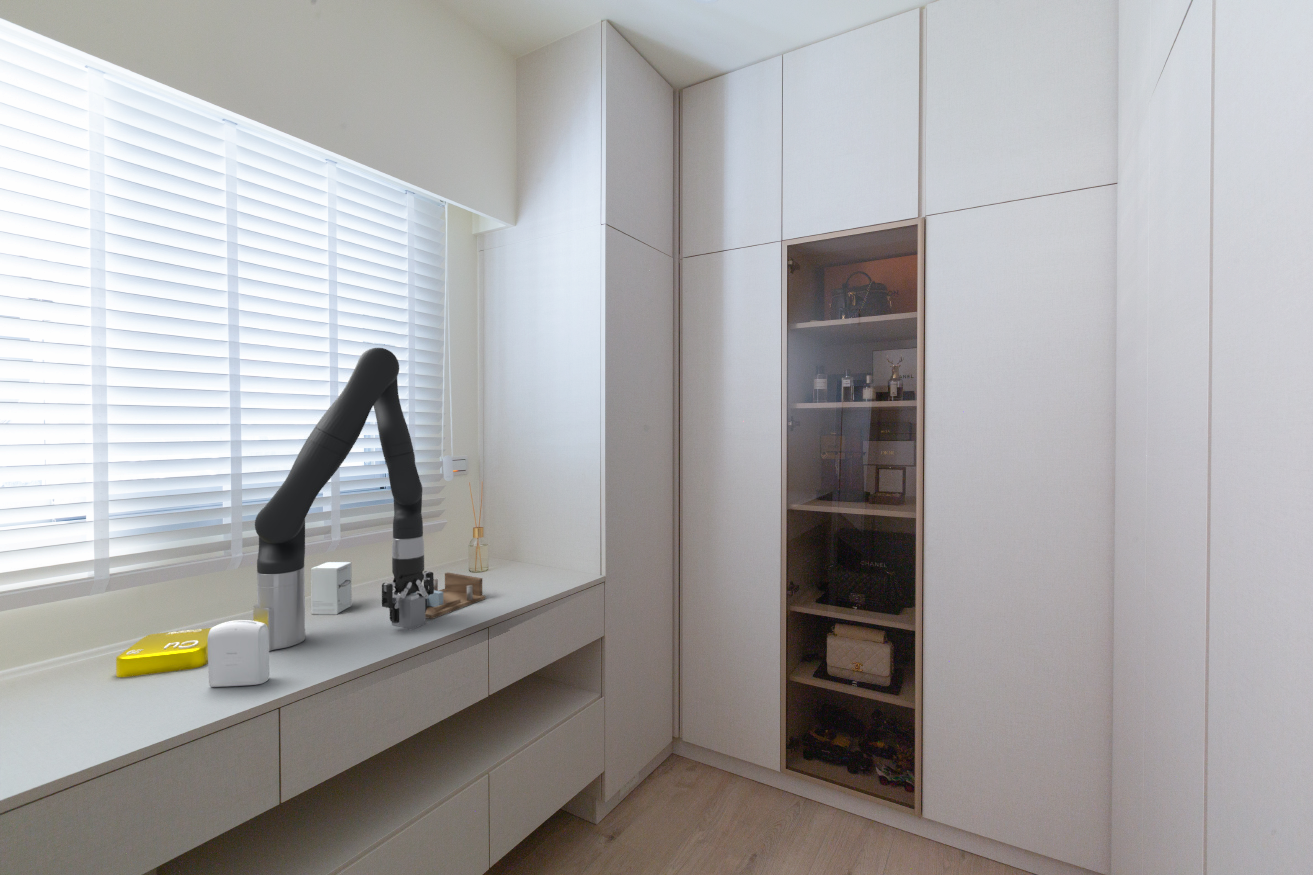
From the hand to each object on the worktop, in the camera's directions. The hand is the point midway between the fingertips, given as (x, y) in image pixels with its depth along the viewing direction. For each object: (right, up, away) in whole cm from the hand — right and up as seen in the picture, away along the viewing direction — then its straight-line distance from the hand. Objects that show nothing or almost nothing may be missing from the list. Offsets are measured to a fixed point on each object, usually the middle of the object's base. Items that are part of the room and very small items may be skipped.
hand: (409, 617), depth 145 cm
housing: (+2, -1, +17) cm, 17 cm away
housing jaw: (-1, 0, +11) cm, 11 cm away
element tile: (-42, -3, -22) cm, 47 cm away
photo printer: (-19, -3, -33) cm, 38 cm away
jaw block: (0, -2, 0) cm, 2 cm away
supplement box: (-26, -2, +11) cm, 28 cm away
